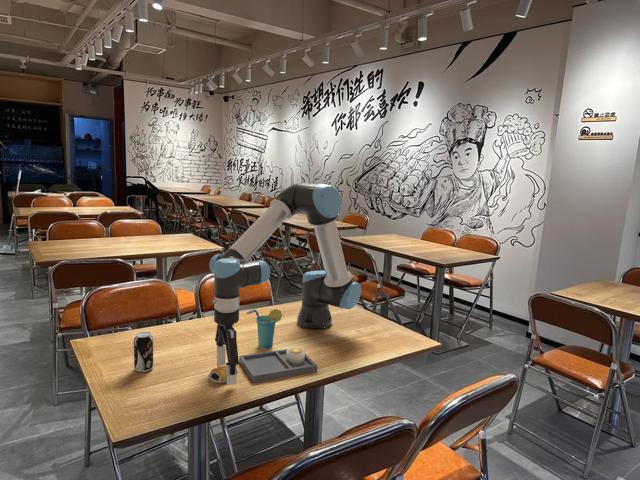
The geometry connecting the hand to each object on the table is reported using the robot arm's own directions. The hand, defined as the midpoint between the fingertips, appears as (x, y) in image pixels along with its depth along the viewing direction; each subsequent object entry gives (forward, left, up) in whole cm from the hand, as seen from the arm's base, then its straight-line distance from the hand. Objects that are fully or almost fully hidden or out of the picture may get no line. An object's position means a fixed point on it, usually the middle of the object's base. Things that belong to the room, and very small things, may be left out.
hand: (226, 374), depth 139 cm
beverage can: (-15, -23, -2) cm, 28 cm away
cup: (-20, +19, -2) cm, 28 cm away
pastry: (-1, -1, -2) cm, 2 cm away
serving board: (-2, +18, -1) cm, 18 cm away
